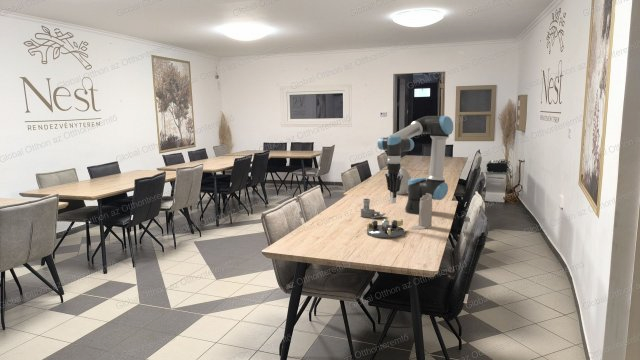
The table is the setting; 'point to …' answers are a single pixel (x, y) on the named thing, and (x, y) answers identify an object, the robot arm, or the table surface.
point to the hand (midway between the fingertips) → (393, 202)
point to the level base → (381, 231)
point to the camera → (369, 211)
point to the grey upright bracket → (425, 212)
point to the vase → (404, 181)
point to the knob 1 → (372, 225)
